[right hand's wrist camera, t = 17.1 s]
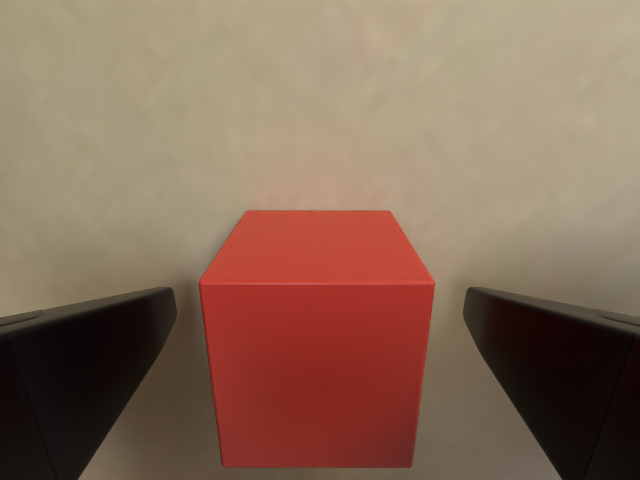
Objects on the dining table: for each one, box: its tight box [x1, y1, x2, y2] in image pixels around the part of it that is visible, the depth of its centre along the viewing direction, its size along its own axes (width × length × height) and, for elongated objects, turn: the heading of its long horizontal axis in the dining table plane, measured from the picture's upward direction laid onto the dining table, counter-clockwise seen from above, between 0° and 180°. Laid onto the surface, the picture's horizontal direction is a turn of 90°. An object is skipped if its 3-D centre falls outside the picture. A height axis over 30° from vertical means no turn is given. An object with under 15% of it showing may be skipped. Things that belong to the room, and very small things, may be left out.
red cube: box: [198, 211, 435, 468], centre depth 10 cm, size 5×5×5 cm
